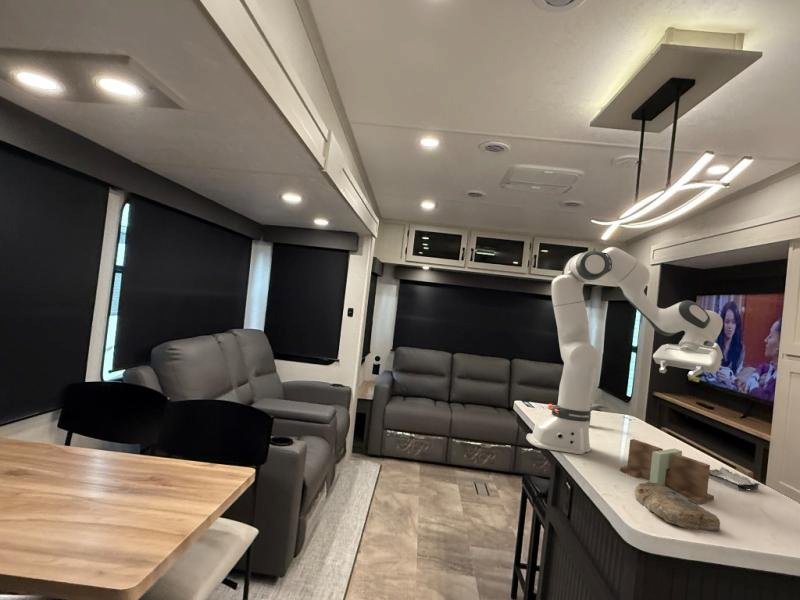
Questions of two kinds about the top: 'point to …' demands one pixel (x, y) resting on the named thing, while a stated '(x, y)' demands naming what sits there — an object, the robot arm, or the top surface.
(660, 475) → the green slotted plate
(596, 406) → the inkwell
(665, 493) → the brown rock
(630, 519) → the top surface
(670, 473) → the walnut slotted board
